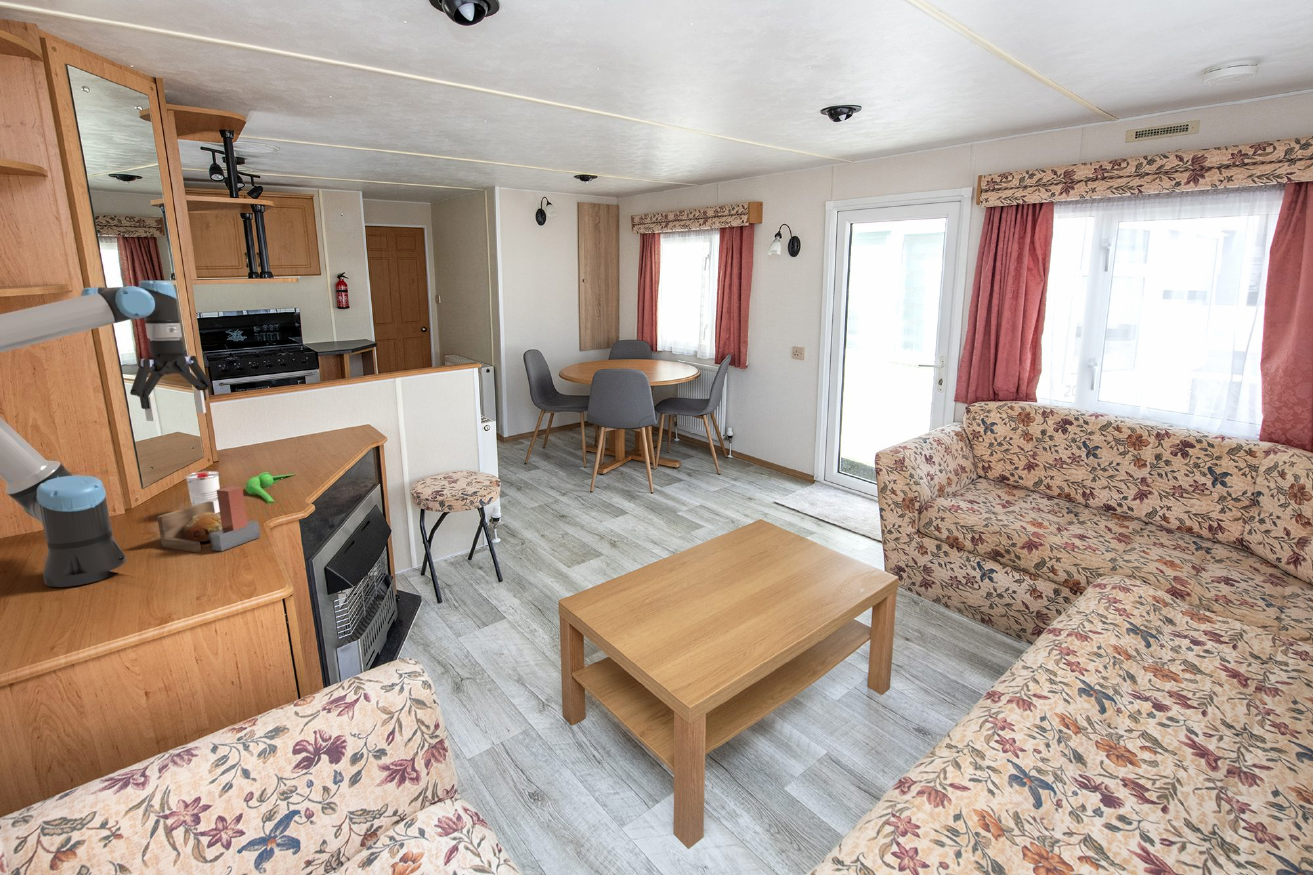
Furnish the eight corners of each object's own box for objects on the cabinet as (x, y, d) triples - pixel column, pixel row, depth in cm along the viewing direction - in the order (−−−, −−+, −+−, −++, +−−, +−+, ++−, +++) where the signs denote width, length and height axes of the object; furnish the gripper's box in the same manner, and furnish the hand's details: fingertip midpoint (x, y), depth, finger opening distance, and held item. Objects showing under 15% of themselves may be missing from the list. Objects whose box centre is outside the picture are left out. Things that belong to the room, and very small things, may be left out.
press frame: (196, 552, 163) (191, 522, 161) (159, 546, 167) (154, 517, 166) (251, 532, 177) (247, 505, 176) (215, 527, 182) (211, 500, 180)
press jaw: (223, 551, 163) (214, 495, 160) (211, 549, 164) (203, 493, 161) (261, 537, 173) (254, 483, 170) (250, 535, 175) (243, 482, 172)
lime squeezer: (274, 505, 203) (272, 485, 202) (232, 508, 200) (229, 488, 199) (303, 478, 235) (301, 461, 234) (267, 480, 232) (265, 463, 231)
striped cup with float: (205, 518, 189) (199, 479, 187) (181, 516, 191) (175, 478, 189) (233, 508, 199) (228, 471, 197) (210, 506, 201) (204, 469, 198)
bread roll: (228, 540, 179) (222, 512, 180) (235, 534, 172) (228, 505, 172) (185, 549, 172) (179, 520, 173) (190, 543, 165) (183, 513, 166)
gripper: (124, 342, 160) (138, 425, 164) (219, 337, 183) (229, 410, 187) (104, 341, 162) (118, 423, 167) (200, 337, 185) (211, 409, 190)
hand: (177, 416), depth 177 cm, fingers open, 13 cm apart
